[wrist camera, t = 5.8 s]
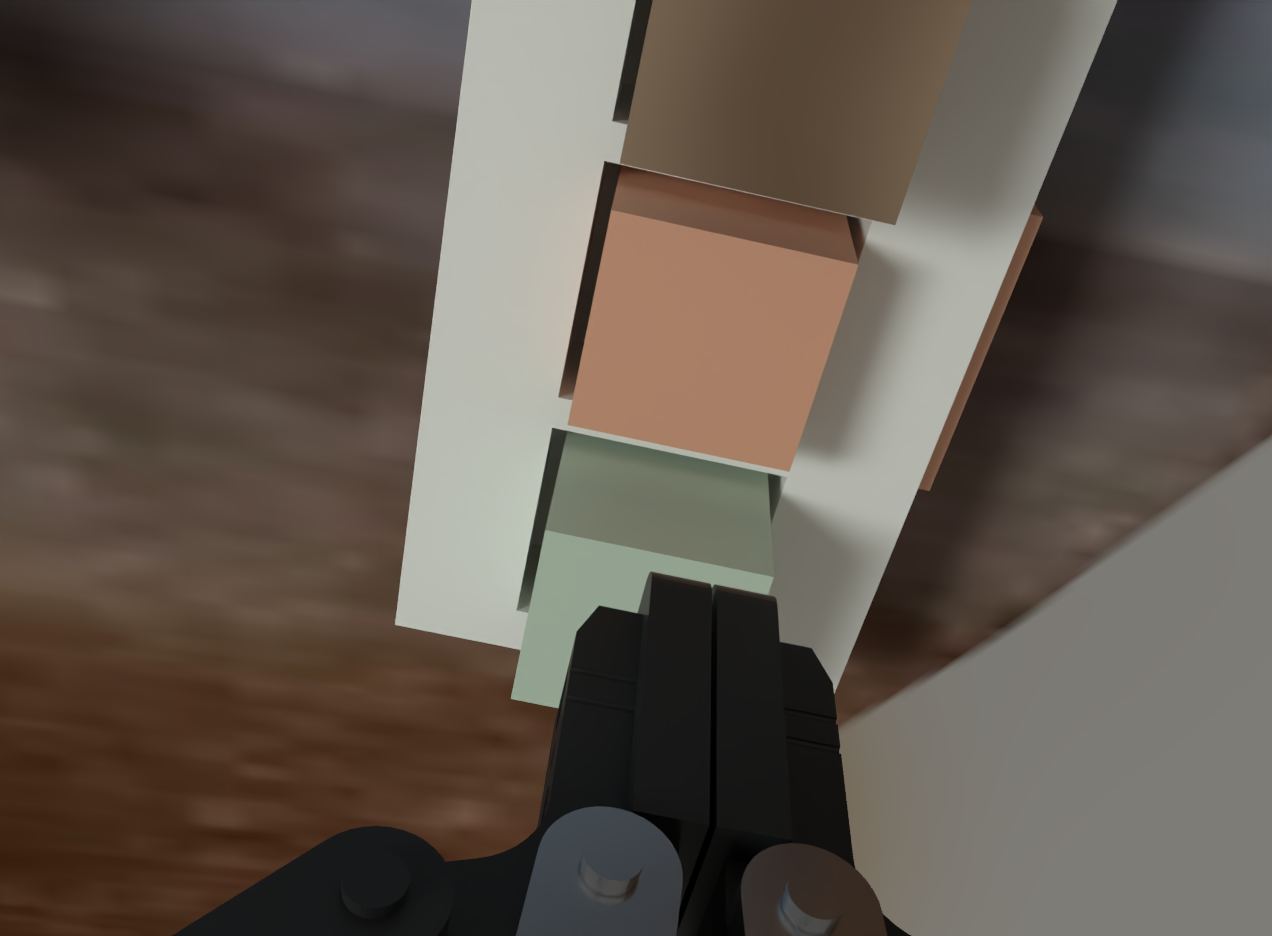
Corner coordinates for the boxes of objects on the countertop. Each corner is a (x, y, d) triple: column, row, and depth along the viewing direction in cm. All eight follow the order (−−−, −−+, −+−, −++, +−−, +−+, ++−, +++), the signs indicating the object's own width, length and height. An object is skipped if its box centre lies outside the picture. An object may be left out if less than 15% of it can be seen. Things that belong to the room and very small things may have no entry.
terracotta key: (586, 340, 24) (567, 424, 21) (626, 145, 22) (611, 209, 19) (781, 382, 25) (789, 471, 22) (840, 194, 22) (858, 264, 19)
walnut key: (634, 100, 20) (619, 163, 17) (690, -172, 18) (683, -152, 15) (870, 153, 20) (895, 225, 17) (953, -108, 18) (999, -77, 15)
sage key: (534, 588, 26) (510, 699, 23) (567, 430, 24) (545, 530, 21) (718, 626, 26) (718, 739, 23) (767, 472, 24) (774, 576, 21)
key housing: (428, 534, 29) (394, 624, 26) (544, -319, 19) (512, -327, 17) (831, 616, 30) (843, 714, 27) (1138, -172, 20) (1209, -156, 17)
